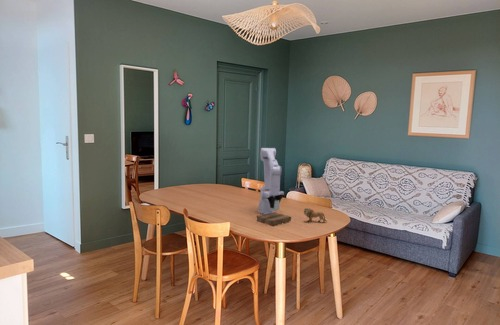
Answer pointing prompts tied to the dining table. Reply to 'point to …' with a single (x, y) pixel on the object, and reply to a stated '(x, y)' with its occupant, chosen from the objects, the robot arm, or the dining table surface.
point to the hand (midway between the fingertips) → (274, 207)
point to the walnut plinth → (273, 218)
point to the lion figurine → (314, 215)
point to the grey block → (275, 205)
